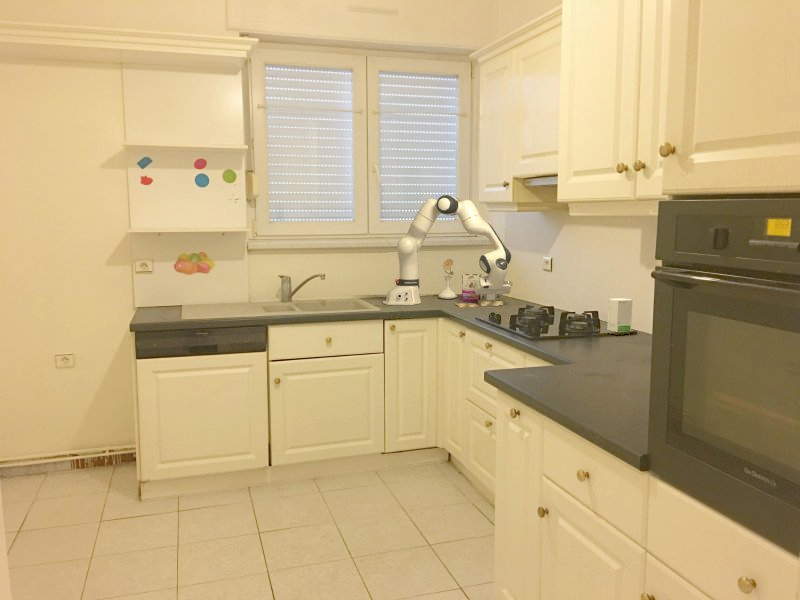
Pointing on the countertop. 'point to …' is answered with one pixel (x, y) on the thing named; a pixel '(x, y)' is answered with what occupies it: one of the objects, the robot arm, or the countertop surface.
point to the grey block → (490, 297)
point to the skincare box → (619, 314)
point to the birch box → (490, 303)
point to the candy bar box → (470, 287)
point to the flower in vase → (448, 281)
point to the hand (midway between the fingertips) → (490, 297)
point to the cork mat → (467, 305)
